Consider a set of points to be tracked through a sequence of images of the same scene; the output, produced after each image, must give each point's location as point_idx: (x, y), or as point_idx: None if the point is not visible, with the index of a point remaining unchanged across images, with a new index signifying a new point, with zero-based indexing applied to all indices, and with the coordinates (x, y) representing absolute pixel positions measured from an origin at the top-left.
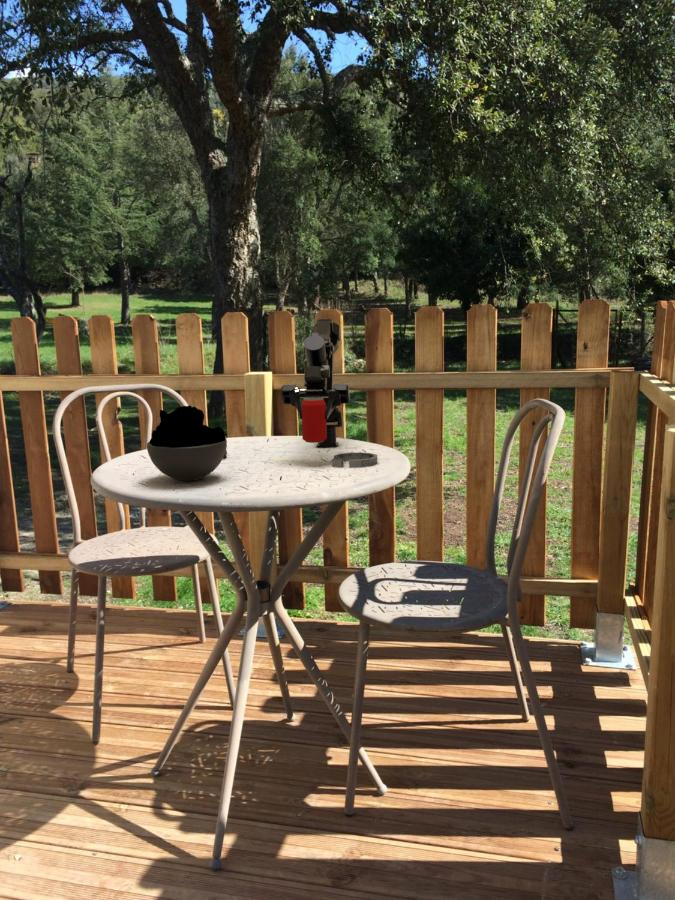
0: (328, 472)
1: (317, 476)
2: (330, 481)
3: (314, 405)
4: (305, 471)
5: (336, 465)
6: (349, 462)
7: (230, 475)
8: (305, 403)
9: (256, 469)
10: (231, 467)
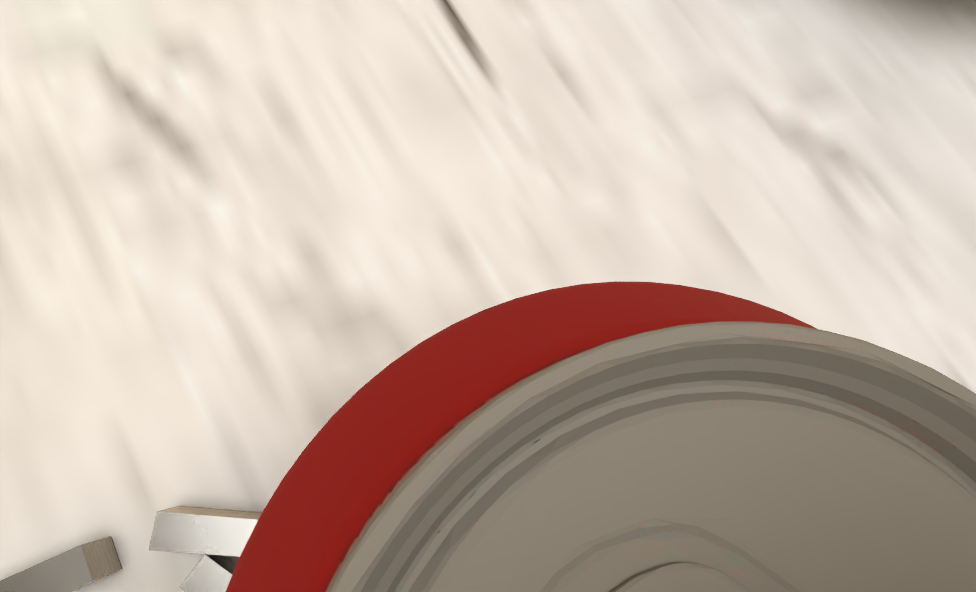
0: (212, 286)
1: (233, 132)
2: (65, 15)
3: (424, 341)
4: (407, 261)
5: (233, 512)
6: (86, 544)
7: (793, 7)
8: (769, 316)
9: (772, 212)
10: (960, 217)
